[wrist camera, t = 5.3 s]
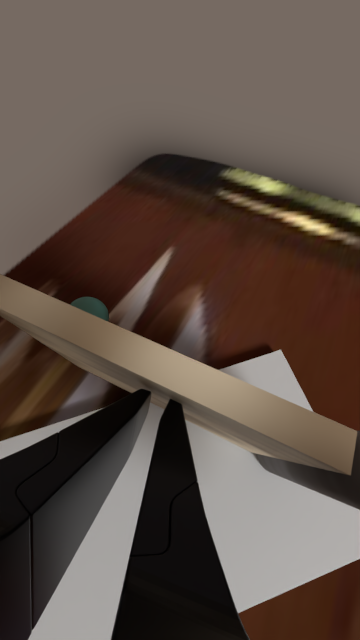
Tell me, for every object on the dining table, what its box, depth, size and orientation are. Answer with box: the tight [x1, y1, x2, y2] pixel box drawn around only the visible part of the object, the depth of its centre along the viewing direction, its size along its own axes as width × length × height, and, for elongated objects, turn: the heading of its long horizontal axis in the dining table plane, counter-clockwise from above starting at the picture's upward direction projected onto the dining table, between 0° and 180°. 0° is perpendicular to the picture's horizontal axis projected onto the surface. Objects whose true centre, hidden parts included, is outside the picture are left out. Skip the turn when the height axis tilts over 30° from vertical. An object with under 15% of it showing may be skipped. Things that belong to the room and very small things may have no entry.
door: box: [0, 274, 360, 510], centre depth 11 cm, size 14×4×10 cm, turn 65°
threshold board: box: [0, 350, 360, 640], centre depth 14 cm, size 20×11×1 cm, turn 108°
